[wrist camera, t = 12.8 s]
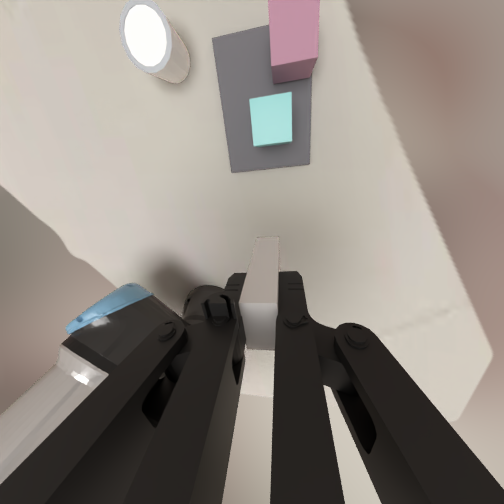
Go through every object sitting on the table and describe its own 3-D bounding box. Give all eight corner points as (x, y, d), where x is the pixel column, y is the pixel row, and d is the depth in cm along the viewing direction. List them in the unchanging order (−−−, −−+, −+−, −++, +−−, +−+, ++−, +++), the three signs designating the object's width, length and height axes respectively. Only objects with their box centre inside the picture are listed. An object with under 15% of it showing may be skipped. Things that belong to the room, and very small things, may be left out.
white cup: (182, 98, 32) (158, 86, 26) (145, 67, 31) (111, 46, 25) (201, 52, 29) (180, 25, 23) (162, 16, 28) (128, -23, 22)
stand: (232, 172, 36) (220, 177, 29) (214, 41, 28) (189, 1, 21) (308, 163, 34) (317, 167, 26) (312, 19, 26) (325, -36, 18)
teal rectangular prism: (258, 147, 32) (253, 146, 26) (255, 109, 30) (249, 99, 24) (289, 143, 31) (292, 141, 25) (289, 103, 29) (291, 91, 23)
